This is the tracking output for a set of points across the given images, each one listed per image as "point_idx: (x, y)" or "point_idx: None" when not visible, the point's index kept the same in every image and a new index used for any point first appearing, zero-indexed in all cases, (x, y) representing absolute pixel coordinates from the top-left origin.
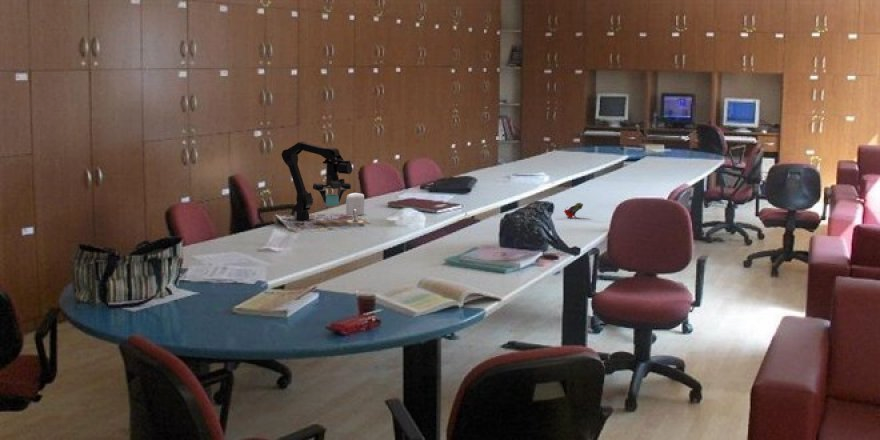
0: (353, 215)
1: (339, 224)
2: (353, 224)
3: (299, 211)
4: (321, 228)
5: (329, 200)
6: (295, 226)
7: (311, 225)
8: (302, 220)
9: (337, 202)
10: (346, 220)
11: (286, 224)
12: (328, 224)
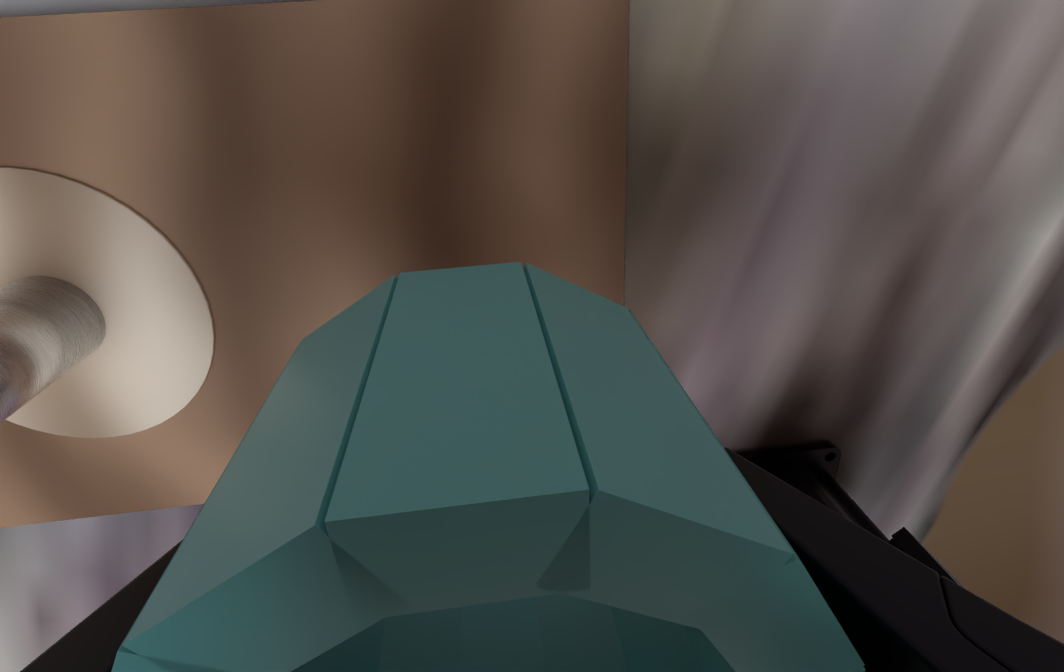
0: (8, 341)
1: (367, 99)
2: (81, 44)
3: (923, 546)
4: (684, 62)
5: (659, 390)
6: (936, 290)
7: (724, 328)
8: (789, 477)
9: (297, 373)
10: (210, 434)
11: (953, 422)
12: (559, 140)
